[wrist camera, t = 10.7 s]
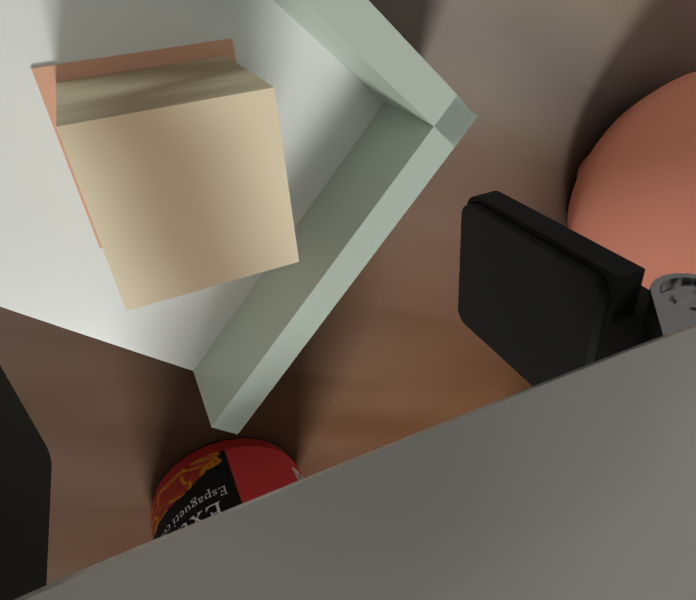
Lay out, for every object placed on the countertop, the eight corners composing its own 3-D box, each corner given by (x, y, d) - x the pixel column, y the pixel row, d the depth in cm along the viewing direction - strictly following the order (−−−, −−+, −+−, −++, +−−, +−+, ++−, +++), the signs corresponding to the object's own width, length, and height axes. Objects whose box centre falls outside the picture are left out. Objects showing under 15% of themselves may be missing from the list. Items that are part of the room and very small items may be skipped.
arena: (413, 90, 21) (477, 116, 18) (213, 367, 24) (238, 434, 21) (-175, -491, 10) (-283, -696, 7) (-419, 149, 13) (-577, 217, 10)
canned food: (191, 420, 25) (259, 657, 17) (322, 446, 30) (425, 640, 22) (119, 536, 27) (148, 801, 19) (253, 542, 32) (323, 755, 24)
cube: (225, 55, 17) (274, 87, 13) (252, 201, 20) (299, 261, 16) (56, 81, 16) (56, 126, 12) (111, 235, 18) (126, 311, 15)
